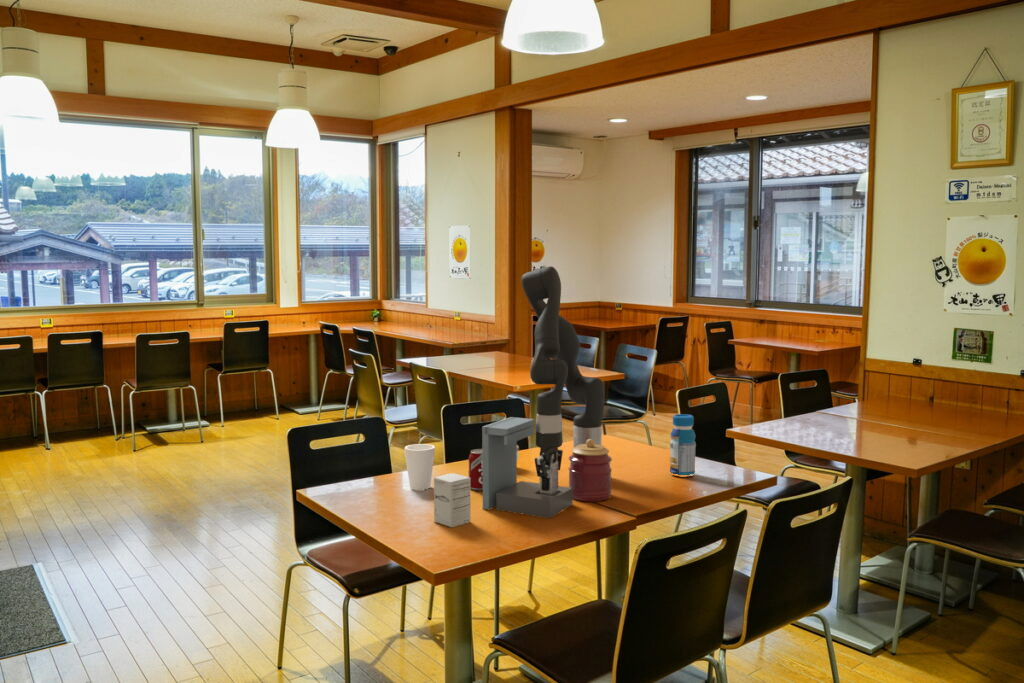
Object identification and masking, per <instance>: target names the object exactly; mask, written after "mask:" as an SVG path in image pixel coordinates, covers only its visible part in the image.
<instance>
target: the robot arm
mask: <svg viewBox="0 0 1024 683" xmlns="http://www.w3.org/2000/svg"><path fill="white" fill-rule="evenodd" d="M560 277H561V276H560V275H559V272H558V271H557V269H556V268H555V267H554V266H545V267H542V268H538V269H535V270H532V271H531V270H530V271H528V272H525V273H524V274H522V276H521V286H522V290H523V293H524V294H525V296H526V298H527V300H528V302H529V304H530V307H531V308H532V310H533V311H534V313H535V316H536V317H537V318H538V320H537V322H536V324H535V328H534V356H533V360H532V364H531V366H530V370H529V375H530V379H531V381H532V382H533V384H535V385H539V386H541V385H554V387H552V389H551V390H548V391H545V392H544V391H543V392H541V393H538V394H537V396H536V416H535V417H536V418H535V445H536V447H538V448H539V450H540V451H539V457H535V458H534V465H535V471H536V476H537V477H539V478H540V477H541V478H542V490H543V491H549V476H550V470H551V464H552V463H553V462H554V461H555V462H556V461H558V471H560V470H561V466H562V459H563V452H564V450H563V449H559V448H561V447H562V445H563V418H562V417H563V416H562V398H563V391H564V388H565V390H566V392H567V394H568V396H569V398H570V401H572V402H573V403H575V404H578V405H585V409H584V412H583V413H581V414H577V415H575V416H574V417H573V423H572V424H573V428H572V429H573V430H572V432H573V437H572V438H573V440H572V441H573V445H572V446H573V448H575V447H576V446H577V445H580V444H586V441H587V440H588V439H593V440H594V442H595V444H598V445H602V437H603V436H602V430H603V429H602V426H603V425H602V424H603V423H602V421H603V418H604V414H605V412H604V411H605V395H606V394H605V392H606V390H605V384H604V382H603V380H602V379H601V378H599V377H593V376H584V375H583V374H582V373H581V372H580V369H579V367H578V362H577V361H578V357H579V354H580V351H581V350H580V348H581V344H580V339H579V337H578V334H577V332H576V330H575V327H574V326H573V324H572V323H571V322H570V321H569V320H567V319H566V318H564V316H562V315H560V308H561V297H562V295H561V294H562V283H561V278H560ZM546 299H547V300H546ZM545 300H546V302H545ZM553 358H555V359H553ZM573 448H572V449H573ZM545 465H549V466H548V467H545ZM540 470H541V471H540ZM546 470H547V473H546Z"/></svg>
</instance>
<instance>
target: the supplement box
mask: <svg viewBox="0 0 1024 683" xmlns="http://www.w3.org/2000/svg"><path fill="white" fill-rule="evenodd" d="M470 480H471V478H469V476H465V475H461V474H457V473H454V472H450V473H446V474H442V475H438V476H434V477H433V498H434V499H433V508H434V509H433V515H434V517H433V520H434V523H438V524H440V525H444V526H447V527H449V528H454V527H458V525H459V526H462V525H466V524H468V522H469V523H471V503H472V502H471V488H470ZM465 523H466V524H465Z"/></svg>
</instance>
